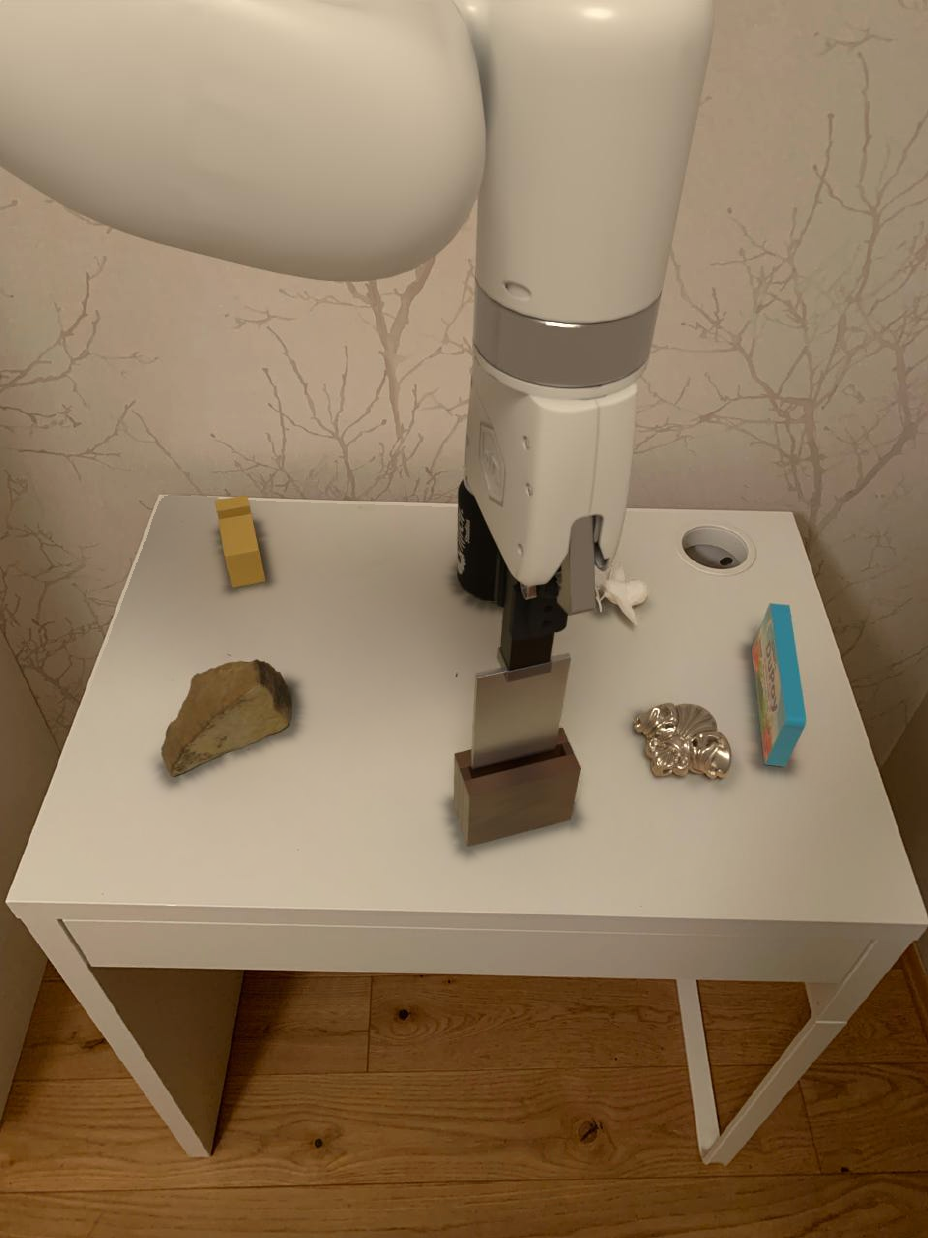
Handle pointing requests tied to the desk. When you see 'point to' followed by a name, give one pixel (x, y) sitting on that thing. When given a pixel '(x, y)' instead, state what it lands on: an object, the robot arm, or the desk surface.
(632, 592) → the toy bird
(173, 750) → the rock
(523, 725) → the knife
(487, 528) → the beverage can
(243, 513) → the butter slice
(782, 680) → the blue product box
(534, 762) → the knife block
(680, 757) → the ornament
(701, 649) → the desk surface
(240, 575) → the butter block
